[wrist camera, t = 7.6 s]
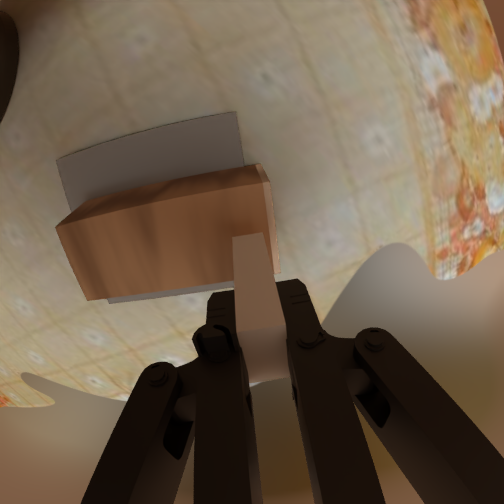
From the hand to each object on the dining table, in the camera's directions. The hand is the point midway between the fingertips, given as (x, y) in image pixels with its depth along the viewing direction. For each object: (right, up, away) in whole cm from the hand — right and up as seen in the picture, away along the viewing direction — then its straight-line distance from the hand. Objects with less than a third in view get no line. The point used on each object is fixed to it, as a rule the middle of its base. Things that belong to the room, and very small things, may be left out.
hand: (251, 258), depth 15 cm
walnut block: (+1, +3, +5) cm, 6 cm away
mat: (-7, +3, +7) cm, 11 cm away
